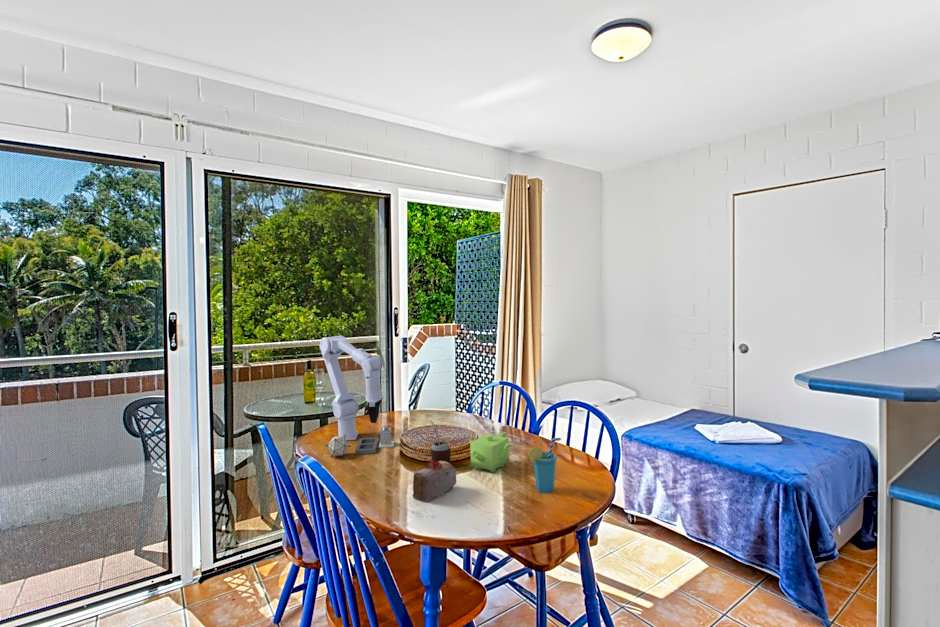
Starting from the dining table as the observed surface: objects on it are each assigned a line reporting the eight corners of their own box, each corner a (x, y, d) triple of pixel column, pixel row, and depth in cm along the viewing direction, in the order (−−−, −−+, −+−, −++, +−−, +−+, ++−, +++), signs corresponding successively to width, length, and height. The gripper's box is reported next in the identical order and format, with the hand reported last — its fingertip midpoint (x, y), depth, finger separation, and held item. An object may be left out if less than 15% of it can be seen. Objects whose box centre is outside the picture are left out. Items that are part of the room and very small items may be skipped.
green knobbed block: (505, 458, 181) (505, 427, 180) (517, 472, 167) (516, 439, 166) (465, 462, 178) (464, 431, 177) (473, 477, 164) (472, 444, 163)
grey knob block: (381, 442, 202) (380, 426, 201) (391, 441, 202) (390, 425, 202) (380, 445, 198) (380, 429, 197) (391, 444, 198) (390, 428, 198)
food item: (439, 483, 160) (438, 453, 159) (458, 488, 155) (457, 457, 155) (410, 498, 149) (409, 466, 148) (430, 504, 144) (429, 471, 144)
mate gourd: (448, 470, 171) (446, 427, 170) (426, 469, 172) (424, 426, 171) (453, 462, 178) (451, 421, 177) (432, 461, 180) (430, 420, 179)
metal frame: (360, 442, 204) (359, 438, 204) (378, 441, 205) (378, 437, 205) (355, 454, 189) (355, 450, 189) (375, 453, 190) (375, 449, 190)
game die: (339, 467, 187) (331, 452, 180) (325, 455, 191) (318, 440, 185) (357, 451, 192) (350, 435, 185) (344, 440, 196) (337, 424, 190)
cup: (551, 478, 160) (550, 433, 159) (571, 485, 154) (570, 438, 153) (522, 492, 151) (521, 443, 150) (542, 499, 145) (541, 449, 144)
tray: (379, 443, 203) (379, 441, 203) (394, 442, 203) (394, 440, 203) (378, 447, 197) (378, 446, 197) (393, 446, 197) (393, 445, 197)
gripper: (381, 390, 192) (383, 424, 193) (384, 382, 207) (385, 414, 207) (363, 391, 192) (365, 425, 192) (367, 383, 206) (368, 415, 207)
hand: (374, 420), depth 200 cm, fingers open, 7 cm apart
